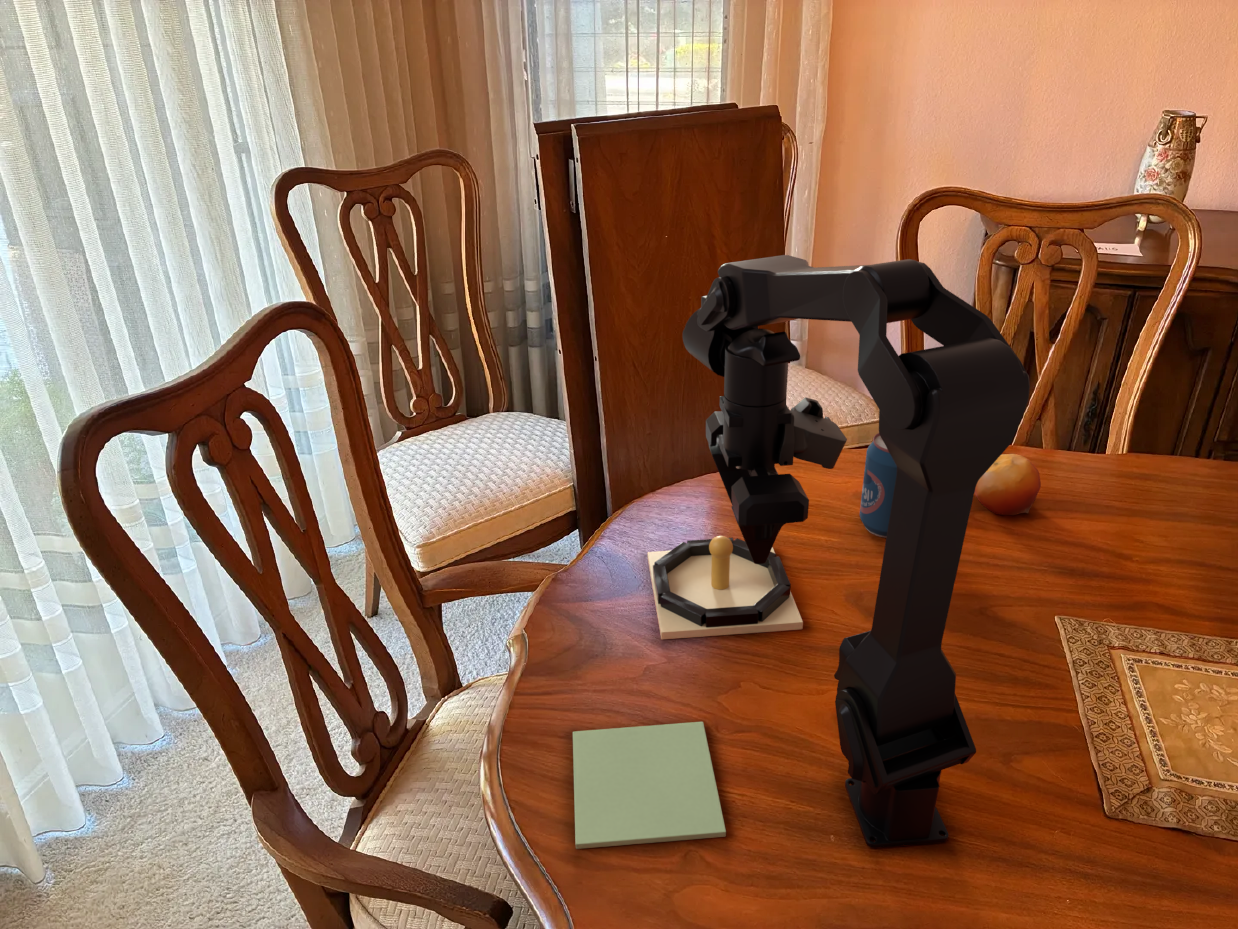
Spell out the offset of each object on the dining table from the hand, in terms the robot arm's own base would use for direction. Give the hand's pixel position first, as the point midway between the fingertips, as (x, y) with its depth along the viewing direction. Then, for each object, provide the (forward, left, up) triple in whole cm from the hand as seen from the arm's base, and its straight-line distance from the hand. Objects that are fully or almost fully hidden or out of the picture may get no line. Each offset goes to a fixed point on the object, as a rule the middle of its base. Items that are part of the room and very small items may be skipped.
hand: (749, 537), depth 86 cm
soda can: (+17, -21, -11) cm, 29 cm away
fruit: (+20, -37, -11) cm, 44 cm away
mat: (-20, +13, -11) cm, 26 cm away
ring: (+6, +2, -9) cm, 11 cm away
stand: (+6, +2, -11) cm, 13 cm away
